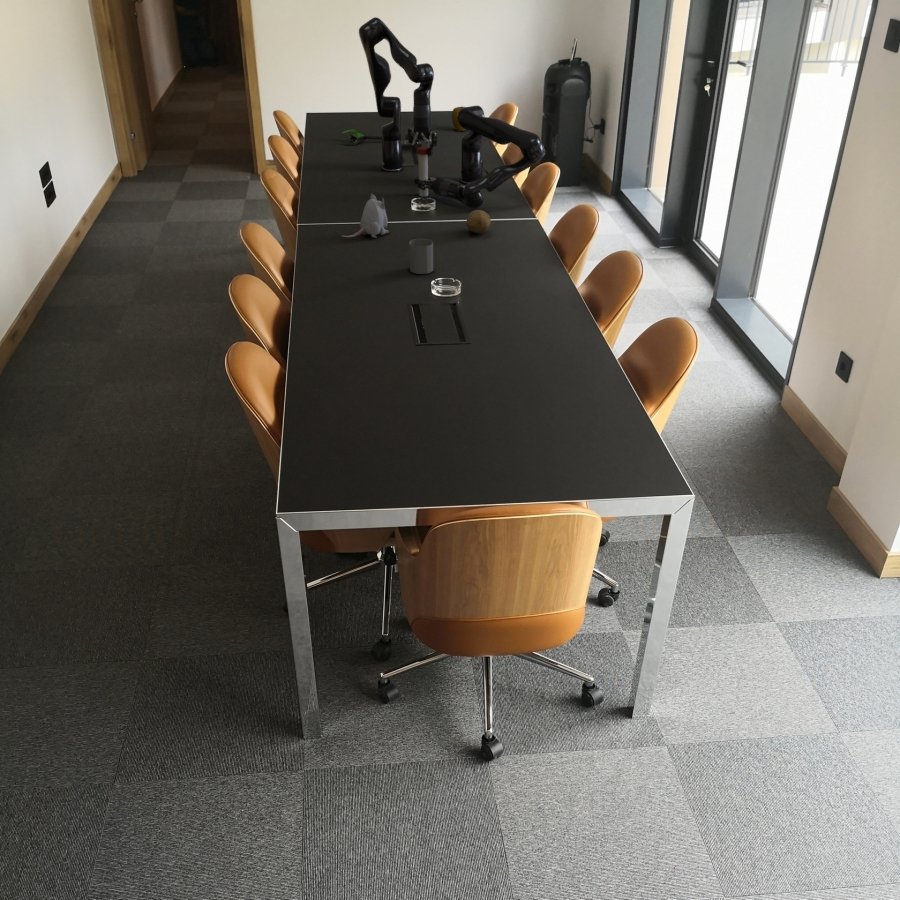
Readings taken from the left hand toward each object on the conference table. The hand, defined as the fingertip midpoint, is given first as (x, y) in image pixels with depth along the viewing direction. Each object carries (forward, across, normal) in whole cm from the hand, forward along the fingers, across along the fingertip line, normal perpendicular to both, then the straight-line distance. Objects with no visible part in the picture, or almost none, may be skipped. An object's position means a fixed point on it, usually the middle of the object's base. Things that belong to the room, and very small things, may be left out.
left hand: (422, 155), depth 376 cm
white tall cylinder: (+17, 0, 0) cm, 17 cm away
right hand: (+11, -3, +1) cm, 12 cm away
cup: (+17, +51, -76) cm, 93 cm away
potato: (+17, +47, -30) cm, 58 cm away
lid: (-3, 0, 0) cm, 3 cm away
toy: (+17, +13, -60) cm, 64 cm away
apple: (+17, -53, +115) cm, 128 cm away
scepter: (+17, -79, +64) cm, 103 cm away
